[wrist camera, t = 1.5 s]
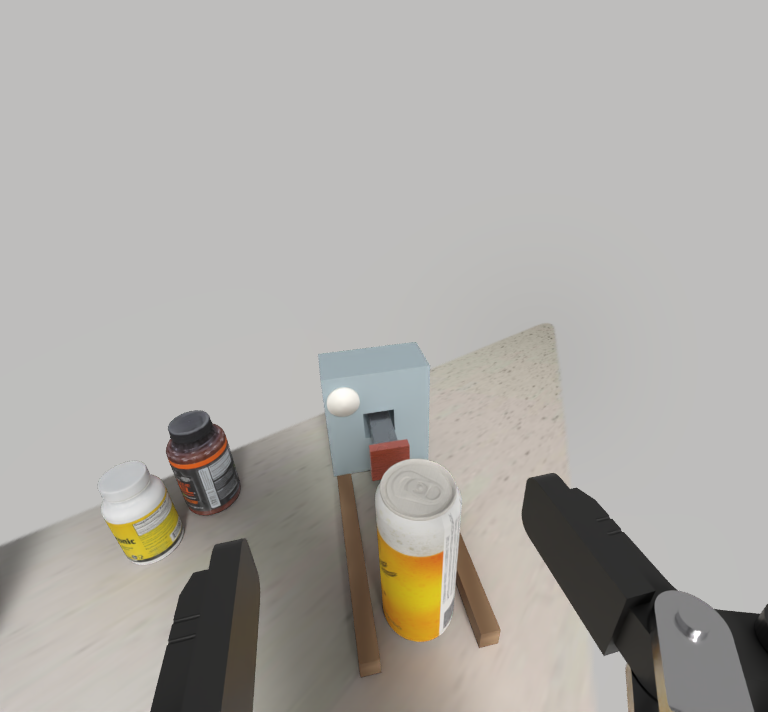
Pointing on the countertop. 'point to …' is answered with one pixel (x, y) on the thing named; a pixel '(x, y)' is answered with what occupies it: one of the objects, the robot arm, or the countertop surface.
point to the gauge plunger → (384, 444)
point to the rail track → (360, 595)
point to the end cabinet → (374, 400)
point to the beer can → (418, 547)
